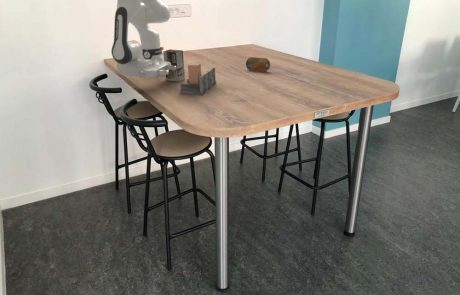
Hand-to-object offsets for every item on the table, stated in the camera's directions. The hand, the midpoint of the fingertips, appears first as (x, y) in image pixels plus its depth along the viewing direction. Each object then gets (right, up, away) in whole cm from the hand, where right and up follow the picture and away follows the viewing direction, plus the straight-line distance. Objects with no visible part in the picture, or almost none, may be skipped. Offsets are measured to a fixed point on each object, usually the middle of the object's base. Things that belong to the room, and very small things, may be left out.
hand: (172, 70), depth 187 cm
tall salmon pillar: (+12, -9, 0) cm, 15 cm away
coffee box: (-1, -1, +22) cm, 22 cm away
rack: (+13, -8, +5) cm, 16 cm away
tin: (+46, +7, +37) cm, 60 cm away
